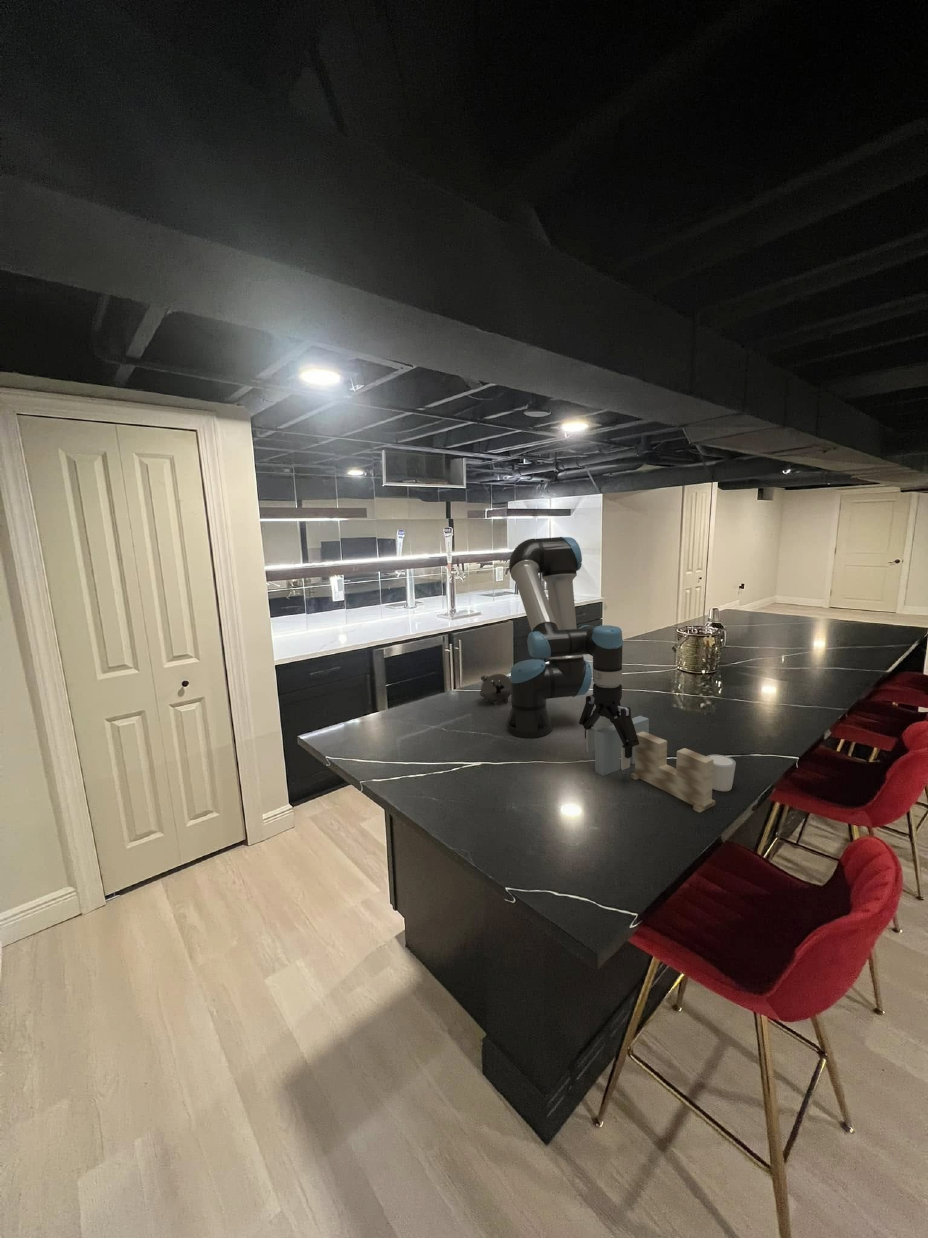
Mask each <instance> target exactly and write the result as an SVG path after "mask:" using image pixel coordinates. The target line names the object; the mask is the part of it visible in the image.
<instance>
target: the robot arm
mask: <svg viewBox="0 0 928 1238" xmlns="http://www.w3.org/2000/svg"><path fill="white" fill-rule="evenodd" d="M582 556H583V555H582V551H581V548H580V545H579V543H578V542H577V540H576V539H575V538H574V537H569V536H567V537H565V536H557V537H544V538H543V537H542V538H541V537H540V538H528V539H526V540H523V541H522V542H520V543H519V544H518V545H517V546H516V547H515V549H514V550H513V551H512V553H511V555H510V557H509V561H508V562H509V563H508V570H509V575H510V577H511V579H512V580H513V581H514V582H515V583H516V586H517V589H518V592H519V596H520V599H521V601H522V605H523V608H524V611H525V612H524V613H525V614H526V618H527V621H528V624H529V628H530V630H531V632H530V633H529V634H528V635H527V650H528V654H529V656H530V657H532V659H525V660H521V661H519V662H516V663H514V664H513V665H512V666H511V668H510V675H509V676H510V682H511V695H510V698H511V699H510V700H511V701H510V703H511V707H510V710H509V714H508V718H507V721H506V727H507V728H506V729H507V732H508V733H509V734H511V735H512V736H515V737H519V738H527V739H533V738H535V739H536V738H541V737H542V738H543V737H545V736H546V735H549V734H551V732H552V731H553V724H552V720H551V717H550V714H549V712H548V709H547V699H558V698H560V699H561V698H568V697H572V698H575V697H578V696H579V697H580V696H584V695H586V694H588V691H590V688H591V685H592V694H591V695H587V696H585V703H584V707H583V709H582V713H581V716H580V718H579V721H578V723H579V725H580V726H583V729H584V739H585V745H586V746H585V750H586V751H585V752H587V753H589V752H593V751H595V731H596V729H595V724H596V723H597V722H598V721H599V719H600V717H605V719H608V720H609V721H610V723H612V725H614V726H615V728H616V730H617V733H618V735H619V737H620V739H621V741H622V743H623V745H621V748H620V770H623V771H624V770H626V769H629V768H631V763H630V757H632V747H634V746H636V745H639V741H638V737H637V734H636V731H635V728H634V724H633V721H632V718H633V717H632V710H631V707H630V706H627V707H623V706H622V705H621V700H622V698H623V686H622V683H623V645H624V639H623V631H622V628H621V627H620V626H615V625H610V624H609V625H606V624H605V625H598V626H597V625H596V626H593V625H587V624H586V625H582V626H580V627H578V628H577V618H576V606H575V595H574V593H575V592H574V582H573V581H574V579H575V578H576V577H577V572H578V571H580V570H581V568H582V566H583V565H582V563H583V557H582ZM539 574H541V578H540V575H539ZM541 580H543V581H544V582H546V585H547V586H546V587H547V588H546V589H547V595H546V592H545V589H544V586H543V583H542V581H541ZM584 655H585V656H587V655H590V656H592V668H591V664H590V662H589V661H587V660H585V659H584ZM543 659H548V663H546V661H544V660H543ZM592 682H593V684H592ZM627 740H628V741H627Z"/></svg>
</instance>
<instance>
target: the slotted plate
mask: <svg viewBox="0 0 928 1238" xmlns="http://www.w3.org/2000/svg"><path fill="white" fill-rule="evenodd" d="M631 718H632V721H633V724H634V728H635V731H636V734H637V733H640V732H642V731H644V732H646V733H649V734H650V732H649V731H650V729H649V728H650V719H649V718H648V717H644V716H642V715H637V716H636V717H631ZM627 741H628V740H627ZM621 745H623V743H622V741H621V739H620V737H619V735H618V733H617V730H616V728H615V726H614V724H611V725H608V726H605V727H602V728H599V729H595V750H594V772H596V773H597V774H599V775H601V776H603V777H604V776H607V775H610V774H612V773H614V772H616V771H619V770H621ZM630 765H635V746H634V747H632V757H630Z"/></svg>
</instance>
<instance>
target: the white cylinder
mask: <svg viewBox="0 0 928 1238" xmlns="http://www.w3.org/2000/svg"><path fill="white" fill-rule="evenodd" d="M706 757H709V758H711V759H714V760H713V783H712V790H715V791H719V792H729V791H731V790H732V789H733V788H732V787H733V784H734V777H735V770H736V763H737V762H736V761H735V760H734V759H733V758H732V757H730V756H727V755H723V754H715V753H714V754H709V755H706Z"/></svg>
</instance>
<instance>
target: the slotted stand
mask: <svg viewBox="0 0 928 1238" xmlns="http://www.w3.org/2000/svg"><path fill="white" fill-rule="evenodd" d="M637 737H638V741H639V745H636V746H635V764H634V772H633V773H631V774H630V778H631V779H633V780H635V781H636V780H639V779H640V780H642V781H643V782H646V783H648V784H650V785H651V786H654V787H656V788H657V789H660V790H662V791H663V792H666V793H667V794H670V795H672V796H673V797H676V798H677V799H679V800H682V801H683V802H685V803H687V804H690V805H692V806H693V807H692V810H693V811H695V812H697V813H699V814H700V813H702V812H704V811H706V810H708V809H710V808H711V807H714V806H715V805H716V800H715V799H712V798H713V789H712V783H713V760H714V759H711V758H709V757H706V756H707V755H706V756H705V755H703V754H701V753H699V752H696V751H694V750H691V749H688V748H685V747H684V748H681V749H679V750H677V751H676V763H675V766H676V767H673V766H671V765H669V764H667V760H668V759H667V758H668V757H667V756H668V741H667V740H666V739H664V738H661V737H658V736H656V735H654V734H652V733H650V732H649V733H646V732H644V731H642V732H640V733H637Z"/></svg>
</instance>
